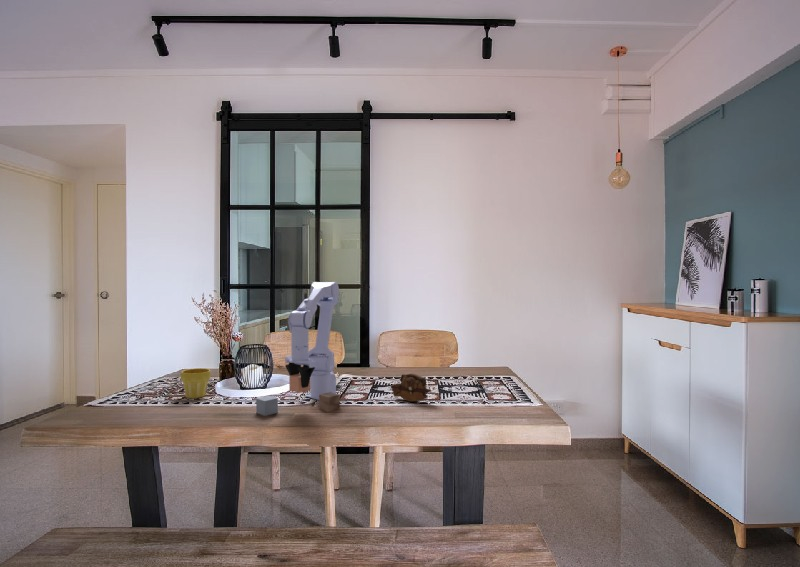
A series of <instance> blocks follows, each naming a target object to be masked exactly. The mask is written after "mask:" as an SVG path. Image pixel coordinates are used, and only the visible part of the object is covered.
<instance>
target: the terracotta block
mask: <svg viewBox="0 0 800 567" xmlns="http://www.w3.org/2000/svg"><path fill="white" fill-rule="evenodd" d="M288 378H289V389H288V390H289V391H290V392H294V393H303V392H307V391H311V380H310V381H309V385H308V387H305V388H302V385H301V376H300V373H299V374H295V375H289V377H288Z"/></svg>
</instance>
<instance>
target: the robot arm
mask: <svg viewBox="0 0 800 567" xmlns="http://www.w3.org/2000/svg"><path fill="white" fill-rule="evenodd" d="M339 296H340V288H339V284H338V283H337V282H336V281H331V282H328V281H325V282H324V281H323V282H322V281H321V282H319V281H313V282H312V283H311V285H310V294H309V296H308V298H304V300H303V301H302V302H301V303H300V305H299V306H298V307H297V308H296V310H293V311H292V312H289V315H288V319H287V322H288V323H287V324H288V326H289V333H291V334H290V335H291V336H290V337H291V338H290V340H291V341H290V342H291V343H290V344H291V349H290V350H291V355H289V356H285V357H284V358H285V359H284V362H285V366H284V367H285V368H286V370H287V372H288V374H289V376H290V375H295V374H300V376H301V385H302V388H305V387H308V385H309V381H310V393H308V394H306V395H305V397H307V398H311V399H314V400H318V401H319V395H320V394H324V393H328V392H332V393H336V394H337V377H336V374H335V373H334V371H333V370H334V369H335V354H334V352H333V351H332V350H331V349H330V348H329V345H330V344H329V342H330V335H331V330H332V329H331V328H332V321H333V320H332V319H333V312H334V311H333V310H334V307H335V306H336V305H338V301H339ZM318 306H319V307H320V311H319V318H318V324H317V333H316V339H315V346H314V347H312V349H310V350H309V328H310V327H311V326H312V321H313V316H314V314H315V313H316V312H317V309H318ZM286 363H287V364H286Z"/></svg>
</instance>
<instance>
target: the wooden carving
mask: <svg viewBox="0 0 800 567" xmlns="http://www.w3.org/2000/svg"><path fill="white" fill-rule="evenodd" d="M399 380H400V382H398V383H394V384H392V385H390V388H391V391H392V394H393V395H392V396H393V397H400V398H401V399H403V400H405V401H407V402H420V401H423V400H425V399H428V398H429V397H428V395H427V393H431V392H432V390H431V388H427V386H426V385H427V379H426V377H423V376H421V375H419V374H417V373H407V374H405V373H403V374H401V376H400V379H399Z"/></svg>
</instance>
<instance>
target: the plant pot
mask: <svg viewBox="0 0 800 567" xmlns="http://www.w3.org/2000/svg"><path fill="white" fill-rule="evenodd" d="M210 379H211V369H210V368H206V367H205V368H197V367H196V368H187V369H184V370H181V372H180V381H181V382H182V383H183V389H184V394H185V397H186V398H188V399H199V398H203V397H205V396H206V392H207V389H208V385H209V380H210Z"/></svg>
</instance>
